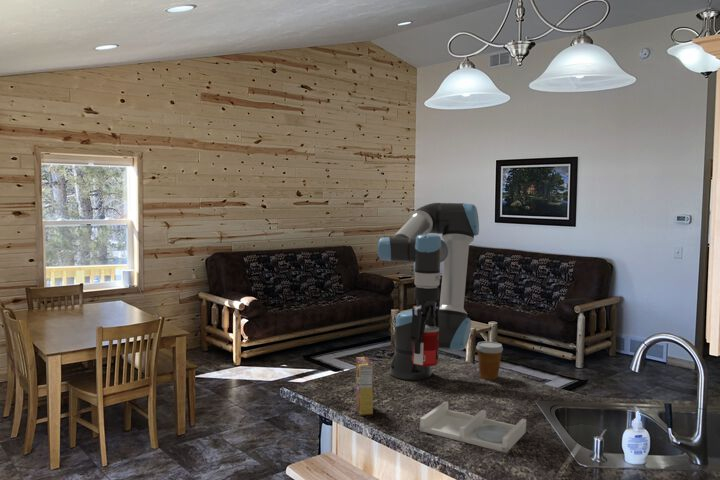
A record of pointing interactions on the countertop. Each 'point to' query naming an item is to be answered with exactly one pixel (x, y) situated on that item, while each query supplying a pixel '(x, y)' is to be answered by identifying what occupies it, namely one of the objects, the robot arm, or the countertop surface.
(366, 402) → the candy box
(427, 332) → the canned food
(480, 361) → the disposable coffee cup
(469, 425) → the rack
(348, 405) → the countertop surface
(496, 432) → the saucer
